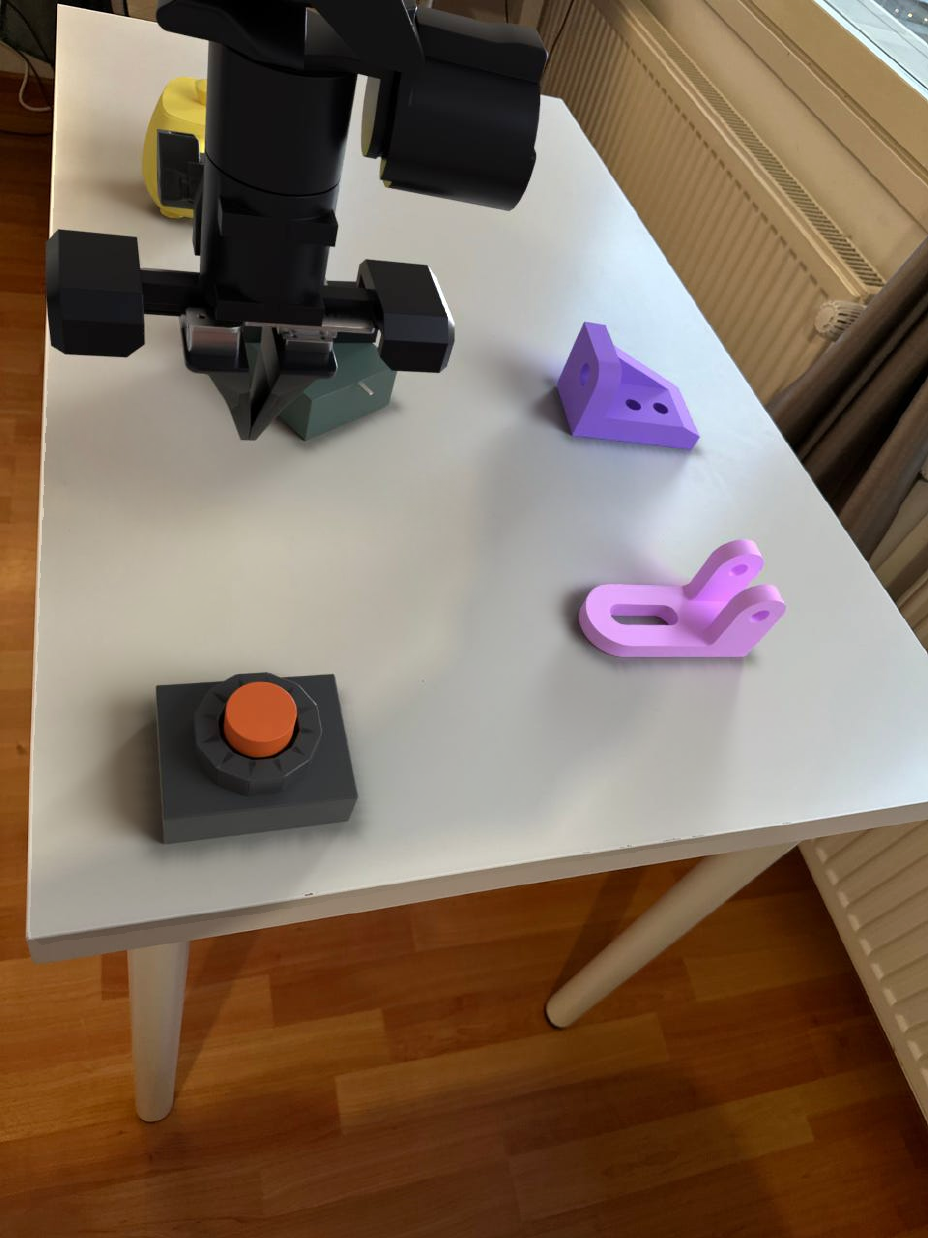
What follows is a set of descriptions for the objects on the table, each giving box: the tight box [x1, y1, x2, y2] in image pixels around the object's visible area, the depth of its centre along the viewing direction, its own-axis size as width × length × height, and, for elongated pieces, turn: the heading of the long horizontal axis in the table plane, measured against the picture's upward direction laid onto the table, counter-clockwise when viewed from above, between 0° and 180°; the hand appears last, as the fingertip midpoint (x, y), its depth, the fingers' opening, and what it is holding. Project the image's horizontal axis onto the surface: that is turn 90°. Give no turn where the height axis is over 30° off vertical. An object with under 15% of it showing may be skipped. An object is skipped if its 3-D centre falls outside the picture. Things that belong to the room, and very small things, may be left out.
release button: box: [224, 682, 297, 757], centre depth 46 cm, size 4×4×2 cm
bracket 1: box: [556, 321, 701, 450], centre depth 78 cm, size 12×7×7 cm, turn 98°
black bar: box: [243, 279, 379, 344], centre depth 67 cm, size 11×2×5 cm, turn 111°
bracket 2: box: [578, 538, 787, 658], centre depth 63 cm, size 13×6×7 cm, turn 101°
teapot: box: [141, 76, 207, 219], centre depth 79 cm, size 18×11×11 cm, turn 2°
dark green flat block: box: [245, 343, 398, 442], centre depth 70 cm, size 15×15×4 cm
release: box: [155, 671, 359, 845], centre depth 48 cm, size 10×8×5 cm
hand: (246, 435), depth 49 cm, fingers closed
